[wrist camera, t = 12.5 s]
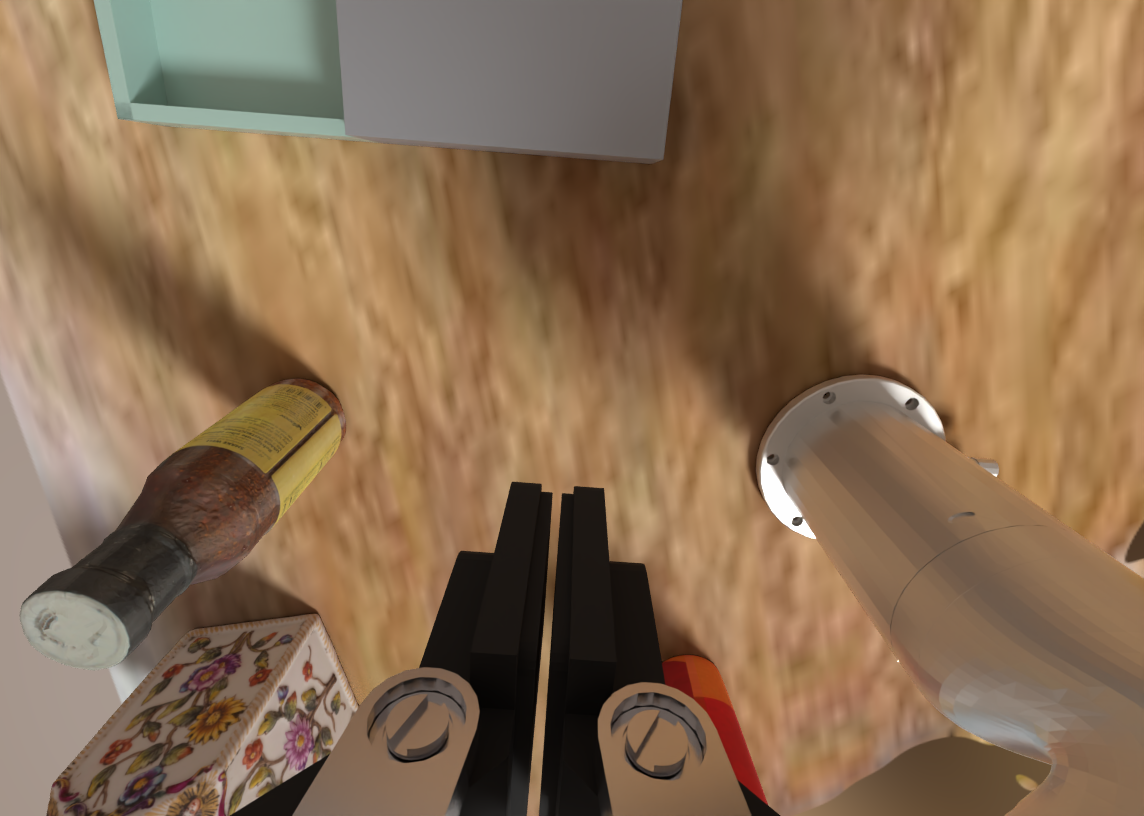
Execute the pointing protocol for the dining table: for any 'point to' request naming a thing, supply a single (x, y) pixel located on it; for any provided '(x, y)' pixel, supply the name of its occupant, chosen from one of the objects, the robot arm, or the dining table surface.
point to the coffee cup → (714, 711)
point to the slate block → (511, 75)
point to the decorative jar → (214, 724)
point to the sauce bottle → (187, 524)
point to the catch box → (226, 65)
